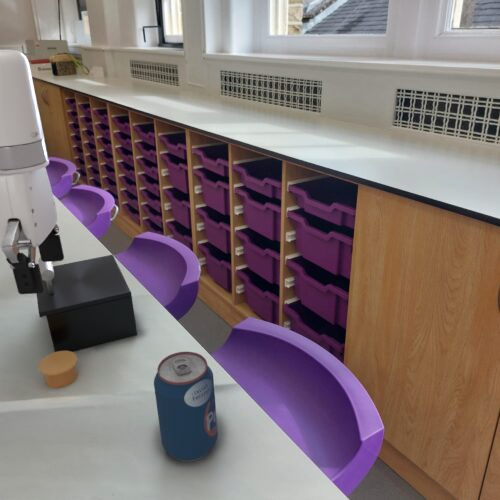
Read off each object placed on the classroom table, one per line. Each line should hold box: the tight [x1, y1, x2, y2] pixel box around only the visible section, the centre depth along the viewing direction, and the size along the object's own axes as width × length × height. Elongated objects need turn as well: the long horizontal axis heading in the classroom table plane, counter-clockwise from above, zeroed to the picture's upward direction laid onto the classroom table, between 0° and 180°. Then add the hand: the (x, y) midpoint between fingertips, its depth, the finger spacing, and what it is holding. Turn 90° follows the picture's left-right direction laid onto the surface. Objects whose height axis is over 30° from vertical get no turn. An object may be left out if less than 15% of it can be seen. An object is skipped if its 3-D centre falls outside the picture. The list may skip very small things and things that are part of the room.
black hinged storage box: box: [45, 296, 138, 353], centre depth 83 cm, size 13×16×9 cm
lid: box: [35, 254, 133, 318], centre depth 80 cm, size 14×16×5 cm
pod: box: [38, 351, 78, 389], centre depth 71 cm, size 5×5×4 cm
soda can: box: [153, 351, 219, 463], centre depth 59 cm, size 7×7×12 cm
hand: (43, 275), depth 69 cm, fingers open, 9 cm apart
